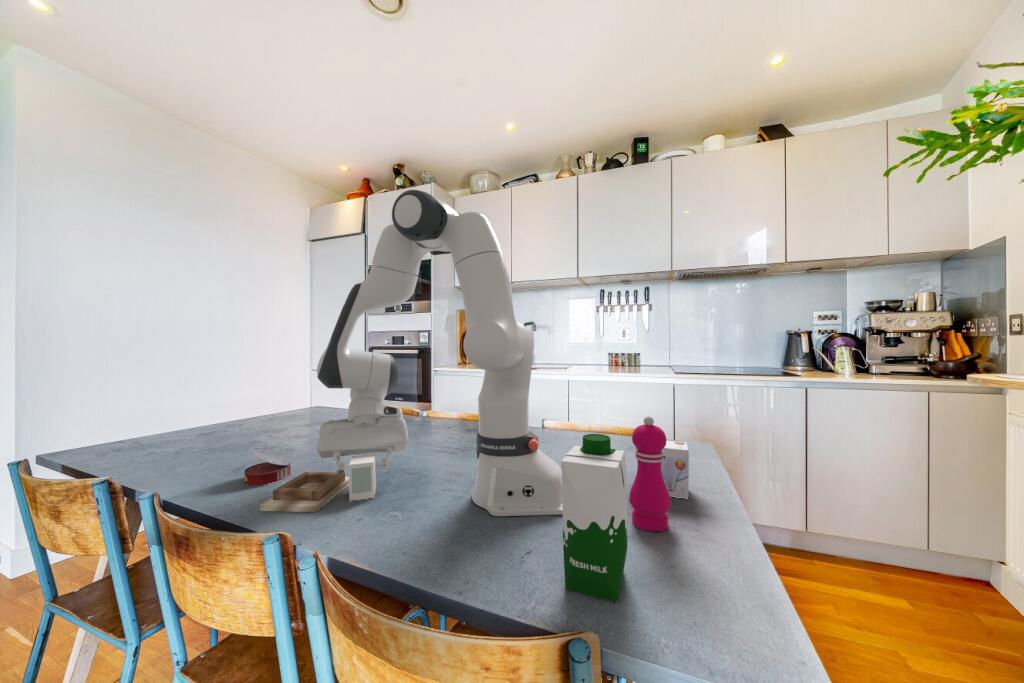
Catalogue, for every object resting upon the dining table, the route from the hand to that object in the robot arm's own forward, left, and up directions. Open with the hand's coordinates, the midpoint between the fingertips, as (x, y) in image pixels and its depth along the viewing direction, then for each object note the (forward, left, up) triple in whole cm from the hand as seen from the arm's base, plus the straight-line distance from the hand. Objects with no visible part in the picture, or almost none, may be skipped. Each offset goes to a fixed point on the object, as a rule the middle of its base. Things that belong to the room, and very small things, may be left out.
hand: (363, 469), depth 84 cm
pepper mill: (-61, +5, -6) cm, 62 cm away
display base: (+11, +2, -5) cm, 13 cm away
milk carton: (-50, +23, -6) cm, 56 cm away
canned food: (+30, -6, -6) cm, 31 cm away
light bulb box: (-67, -11, -6) cm, 68 cm away
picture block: (0, 0, -5) cm, 6 cm away
